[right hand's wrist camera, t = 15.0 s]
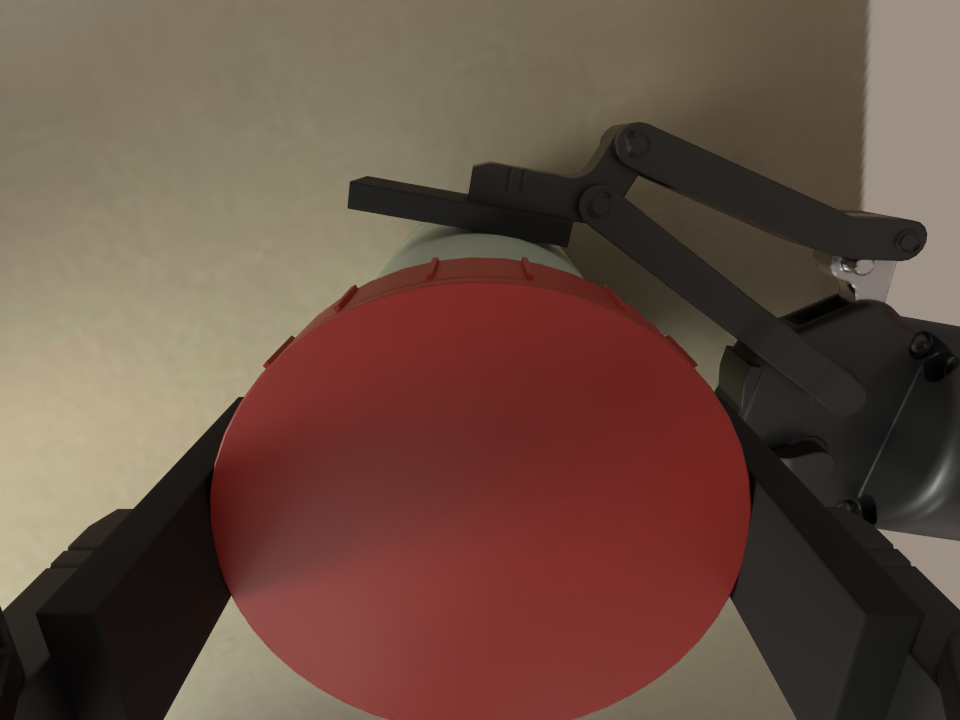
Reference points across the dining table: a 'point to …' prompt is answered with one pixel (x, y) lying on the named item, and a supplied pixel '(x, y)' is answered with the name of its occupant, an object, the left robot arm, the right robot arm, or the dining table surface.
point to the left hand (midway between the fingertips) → (344, 333)
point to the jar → (472, 249)
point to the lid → (480, 497)
